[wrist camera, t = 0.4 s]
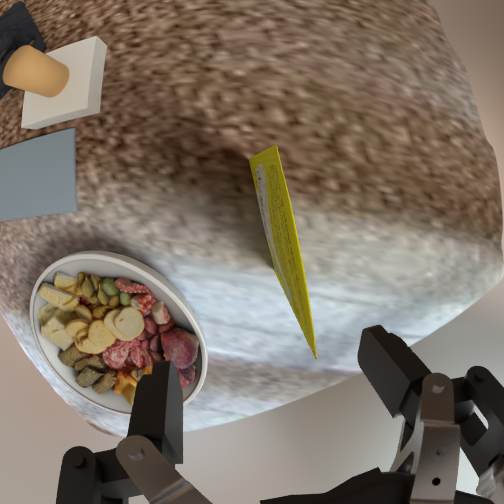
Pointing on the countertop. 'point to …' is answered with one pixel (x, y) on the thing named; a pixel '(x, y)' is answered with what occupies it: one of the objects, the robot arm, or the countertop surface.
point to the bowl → (114, 328)
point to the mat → (39, 177)
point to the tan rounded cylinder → (35, 72)
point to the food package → (282, 235)
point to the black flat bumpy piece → (16, 37)
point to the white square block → (70, 86)
